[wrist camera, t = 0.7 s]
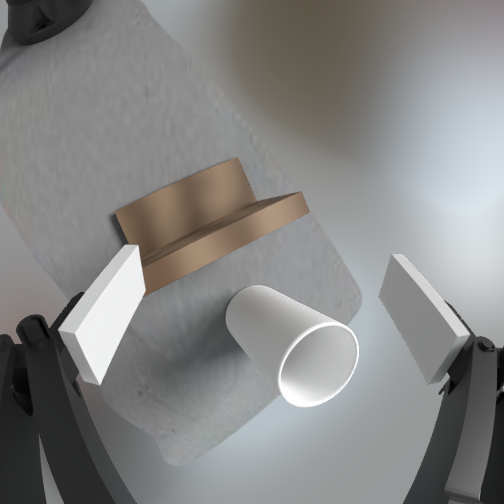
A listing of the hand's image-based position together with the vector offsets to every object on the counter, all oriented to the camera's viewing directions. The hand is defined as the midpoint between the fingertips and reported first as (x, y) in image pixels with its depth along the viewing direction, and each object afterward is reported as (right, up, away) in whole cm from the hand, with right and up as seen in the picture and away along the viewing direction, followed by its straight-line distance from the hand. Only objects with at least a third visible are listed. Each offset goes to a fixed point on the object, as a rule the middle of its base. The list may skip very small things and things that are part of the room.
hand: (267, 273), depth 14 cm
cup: (0, -7, +23) cm, 24 cm away
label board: (-8, +5, +19) cm, 21 cm away
